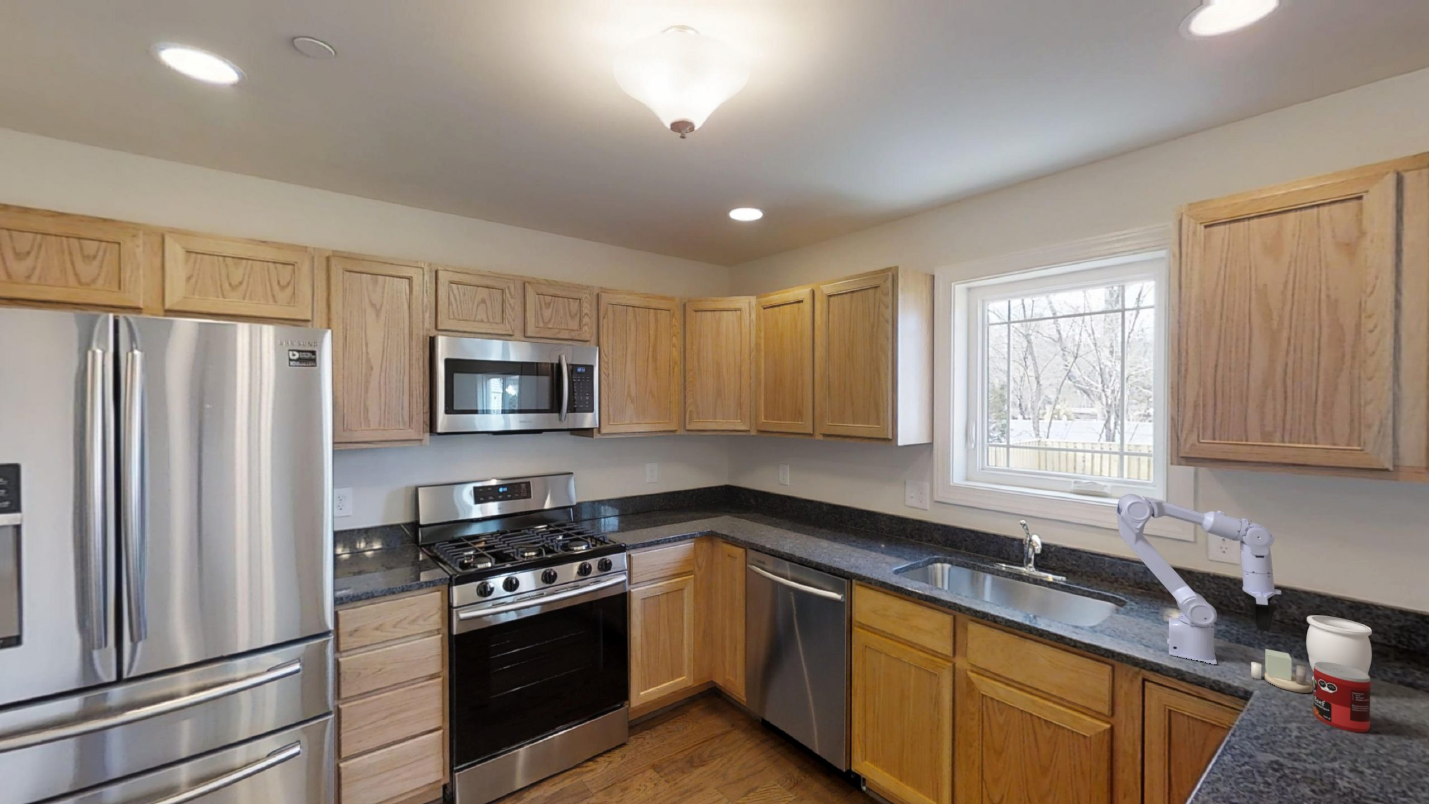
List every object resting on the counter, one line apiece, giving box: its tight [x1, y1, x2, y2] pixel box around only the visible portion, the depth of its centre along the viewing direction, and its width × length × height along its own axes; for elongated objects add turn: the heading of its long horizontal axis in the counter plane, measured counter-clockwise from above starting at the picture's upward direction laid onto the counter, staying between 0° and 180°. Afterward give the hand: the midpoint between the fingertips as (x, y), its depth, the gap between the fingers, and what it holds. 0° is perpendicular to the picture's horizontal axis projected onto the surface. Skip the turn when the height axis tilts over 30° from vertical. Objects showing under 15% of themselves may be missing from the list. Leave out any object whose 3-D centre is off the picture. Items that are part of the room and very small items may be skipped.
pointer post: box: [1250, 661, 1263, 679], centre depth 139 cm, size 2×2×4 cm
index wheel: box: [1264, 664, 1314, 694], centre depth 136 cm, size 8×8×6 cm
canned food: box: [1312, 662, 1371, 734], centre depth 120 cm, size 8×8×11 cm
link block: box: [1264, 648, 1292, 681], centre depth 137 cm, size 4×4×5 cm
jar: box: [1305, 615, 1373, 682], centre depth 136 cm, size 11×10×15 cm
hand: (1262, 625), depth 145 cm, fingers open, 7 cm apart
